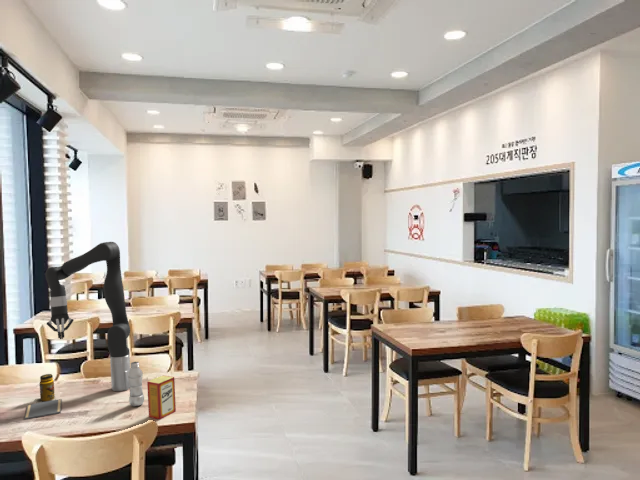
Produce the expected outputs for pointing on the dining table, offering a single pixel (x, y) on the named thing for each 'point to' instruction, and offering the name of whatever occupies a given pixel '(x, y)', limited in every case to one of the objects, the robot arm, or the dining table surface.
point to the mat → (43, 409)
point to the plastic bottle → (135, 385)
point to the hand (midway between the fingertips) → (61, 338)
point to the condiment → (46, 389)
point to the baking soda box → (161, 397)
